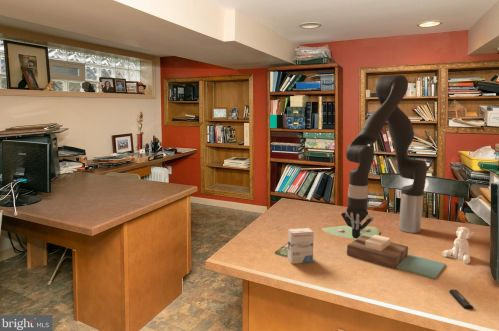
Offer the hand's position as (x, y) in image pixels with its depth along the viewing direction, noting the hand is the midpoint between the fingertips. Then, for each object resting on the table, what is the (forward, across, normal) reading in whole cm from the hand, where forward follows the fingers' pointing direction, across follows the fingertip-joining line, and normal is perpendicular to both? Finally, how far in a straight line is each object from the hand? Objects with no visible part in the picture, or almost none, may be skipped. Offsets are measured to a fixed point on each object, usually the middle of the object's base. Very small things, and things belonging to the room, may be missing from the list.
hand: (355, 237), depth 137 cm
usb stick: (+6, -40, +15) cm, 43 cm away
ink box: (+5, +11, +23) cm, 26 cm away
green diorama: (+6, +11, -18) cm, 22 cm away
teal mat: (+5, -24, -1) cm, 25 cm away
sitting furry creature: (+5, -33, -19) cm, 38 cm away
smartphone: (+6, +19, +17) cm, 26 cm away
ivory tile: (+1, -9, 0) cm, 9 cm away
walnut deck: (+5, -9, 0) cm, 10 cm away
